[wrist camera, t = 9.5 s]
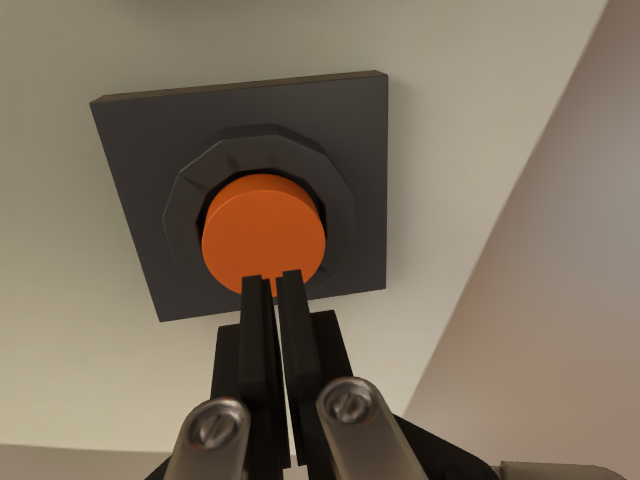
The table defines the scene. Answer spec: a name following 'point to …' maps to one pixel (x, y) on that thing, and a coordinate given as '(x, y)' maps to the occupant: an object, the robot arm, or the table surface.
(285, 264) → the power button
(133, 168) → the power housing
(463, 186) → the table surface
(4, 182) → the table surface
